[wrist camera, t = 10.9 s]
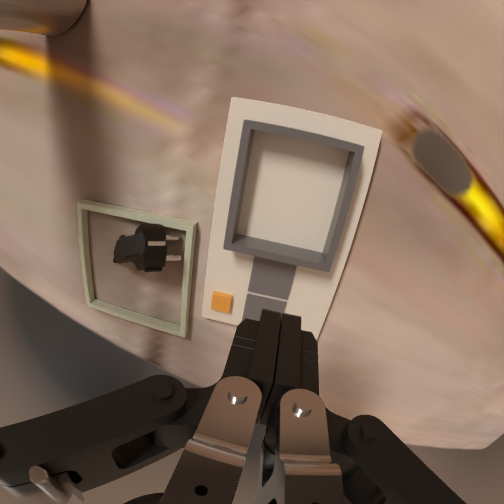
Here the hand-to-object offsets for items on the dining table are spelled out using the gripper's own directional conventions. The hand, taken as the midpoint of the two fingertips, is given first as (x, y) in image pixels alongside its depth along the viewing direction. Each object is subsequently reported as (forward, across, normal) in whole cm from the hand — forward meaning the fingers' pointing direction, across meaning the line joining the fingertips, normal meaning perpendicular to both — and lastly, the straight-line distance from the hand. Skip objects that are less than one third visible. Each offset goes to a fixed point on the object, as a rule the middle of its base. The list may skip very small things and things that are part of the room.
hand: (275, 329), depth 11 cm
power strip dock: (+24, 0, +5) cm, 24 cm away
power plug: (+26, +20, +15) cm, 35 cm away
